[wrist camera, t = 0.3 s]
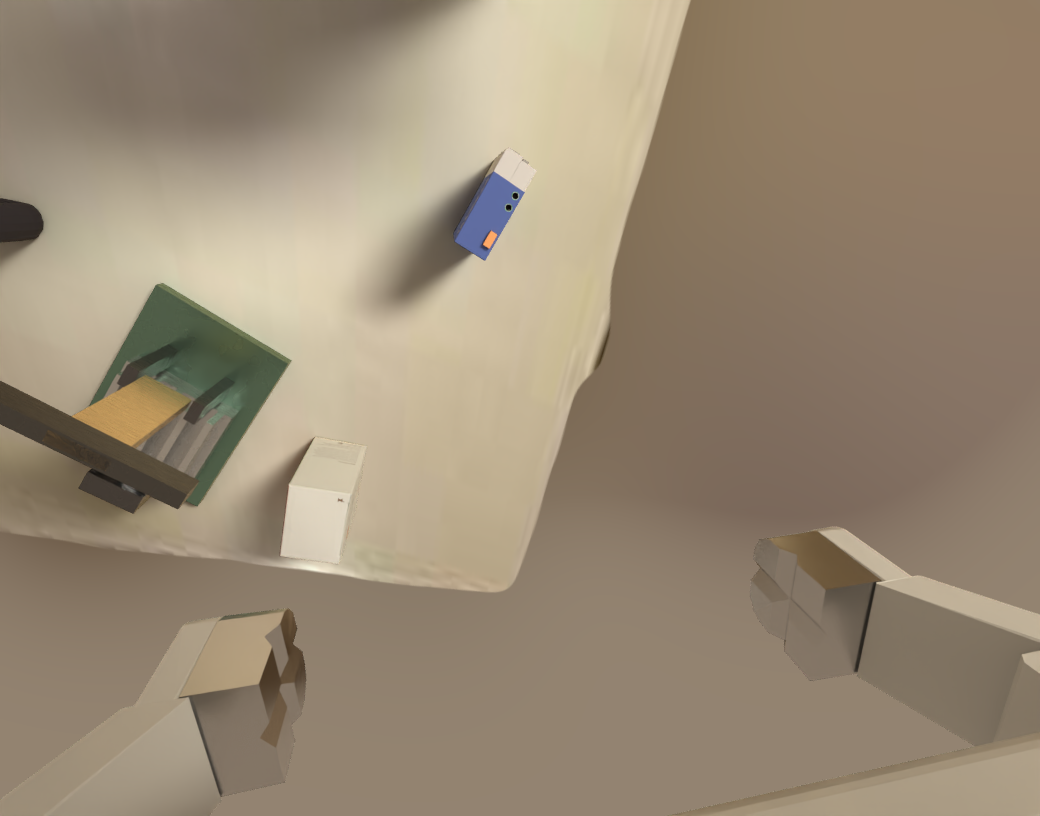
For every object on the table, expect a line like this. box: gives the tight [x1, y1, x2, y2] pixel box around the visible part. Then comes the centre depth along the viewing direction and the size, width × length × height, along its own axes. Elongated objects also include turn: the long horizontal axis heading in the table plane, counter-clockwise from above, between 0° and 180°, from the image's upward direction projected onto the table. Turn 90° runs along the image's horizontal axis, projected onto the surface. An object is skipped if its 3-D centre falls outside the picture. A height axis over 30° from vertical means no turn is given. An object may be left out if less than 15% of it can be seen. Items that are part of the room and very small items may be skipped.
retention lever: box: [0, 375, 199, 509], centre depth 41 cm, size 1×14×12 cm, turn 53°
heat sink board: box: [79, 283, 291, 514], centre depth 50 cm, size 19×13×8 cm
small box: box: [279, 437, 367, 564], centre depth 54 cm, size 8×6×10 cm
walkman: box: [453, 147, 537, 261], centre depth 46 cm, size 8×3×12 cm, turn 148°
